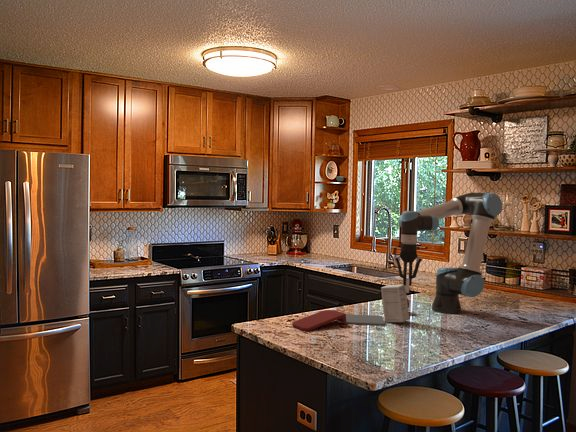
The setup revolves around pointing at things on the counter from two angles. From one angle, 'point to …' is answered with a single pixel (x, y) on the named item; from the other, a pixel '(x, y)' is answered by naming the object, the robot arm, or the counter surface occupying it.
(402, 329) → the counter surface
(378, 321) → the mat
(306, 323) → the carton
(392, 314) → the supplement box
